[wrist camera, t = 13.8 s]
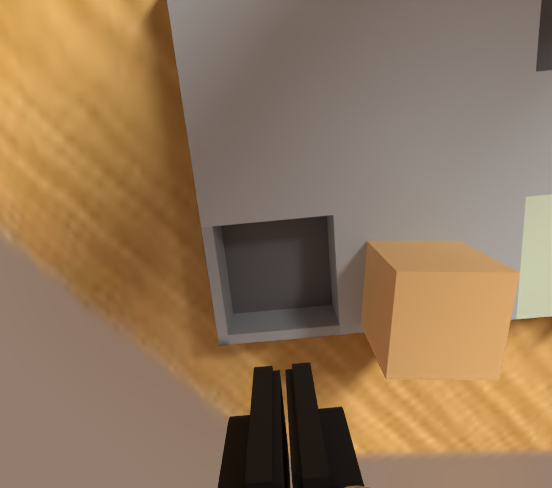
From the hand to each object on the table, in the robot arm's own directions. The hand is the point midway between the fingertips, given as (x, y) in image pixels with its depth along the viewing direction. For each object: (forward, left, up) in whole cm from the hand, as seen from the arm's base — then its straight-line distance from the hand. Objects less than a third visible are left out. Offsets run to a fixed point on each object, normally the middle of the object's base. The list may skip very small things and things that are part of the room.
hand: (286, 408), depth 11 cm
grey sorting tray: (-8, -7, -13) cm, 17 cm away
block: (-7, +1, -10) cm, 12 cm away
